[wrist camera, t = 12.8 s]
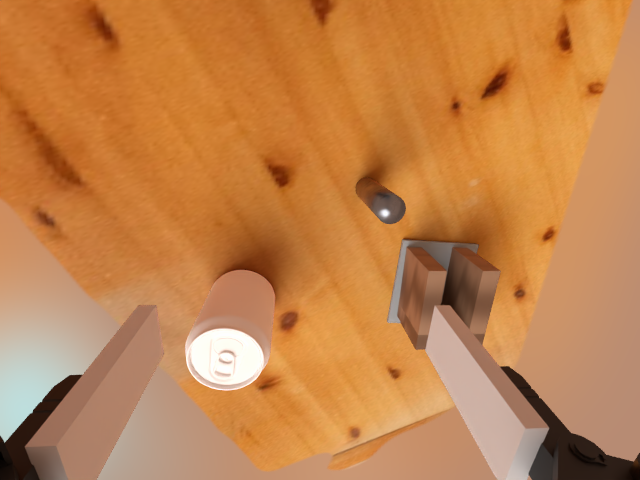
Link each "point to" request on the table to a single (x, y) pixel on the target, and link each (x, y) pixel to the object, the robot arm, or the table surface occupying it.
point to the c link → (445, 291)
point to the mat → (437, 251)
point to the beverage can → (232, 331)
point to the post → (381, 200)
